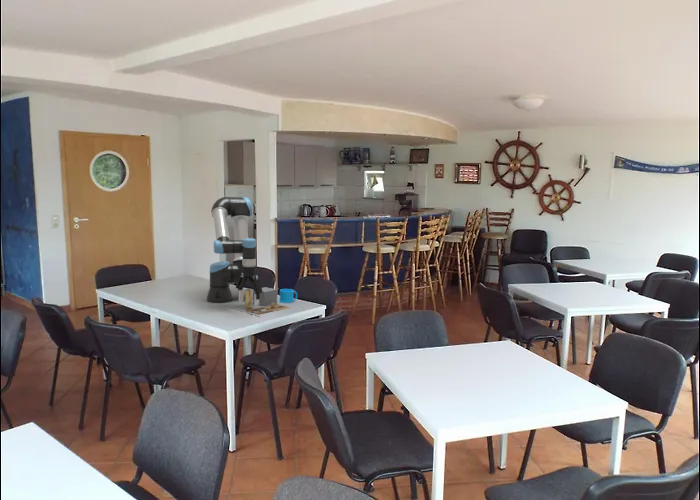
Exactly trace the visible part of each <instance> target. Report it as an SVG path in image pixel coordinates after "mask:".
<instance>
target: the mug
mask: <svg viewBox="0 0 700 500" xmlns="http://www.w3.org/2000/svg"><path fill="white" fill-rule="evenodd" d="M294 294H295V297H294ZM297 299H298V292H296V290H294V289H292V288H282V289H280V290H279V302H280V303H282V304H289V303H290V304H291V303H294V302H295V301H296V300H297Z"/></svg>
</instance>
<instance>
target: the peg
mask: <svg viewBox="0 0 700 500" xmlns="http://www.w3.org/2000/svg"><path fill="white" fill-rule="evenodd" d="M252 305H253V289H252V288H247V289H245V310H250V309H253V307H252Z"/></svg>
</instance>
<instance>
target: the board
mask: <svg viewBox="0 0 700 500" xmlns="http://www.w3.org/2000/svg"><path fill="white" fill-rule="evenodd" d="M261 307H262V308H266V309H270V310H274V311H273V312H278V311H282V310H288V309H291V308H292V307H290V306H287V305H283V304H282V305H281V304H278V303H277V304H275V303H271V305H268V306H261ZM266 309H265V310H266Z"/></svg>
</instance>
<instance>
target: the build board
mask: <svg viewBox="0 0 700 500" xmlns="http://www.w3.org/2000/svg"><path fill="white" fill-rule="evenodd" d="M262 307H263V306H260V307H256V308H252V309H245V312H246V313H248V314H247V315H252V316H254V315H255V317H258V318H260V315H264V314H268V313H273V312H275V311H274V310H270V309H266V308H262Z"/></svg>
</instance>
